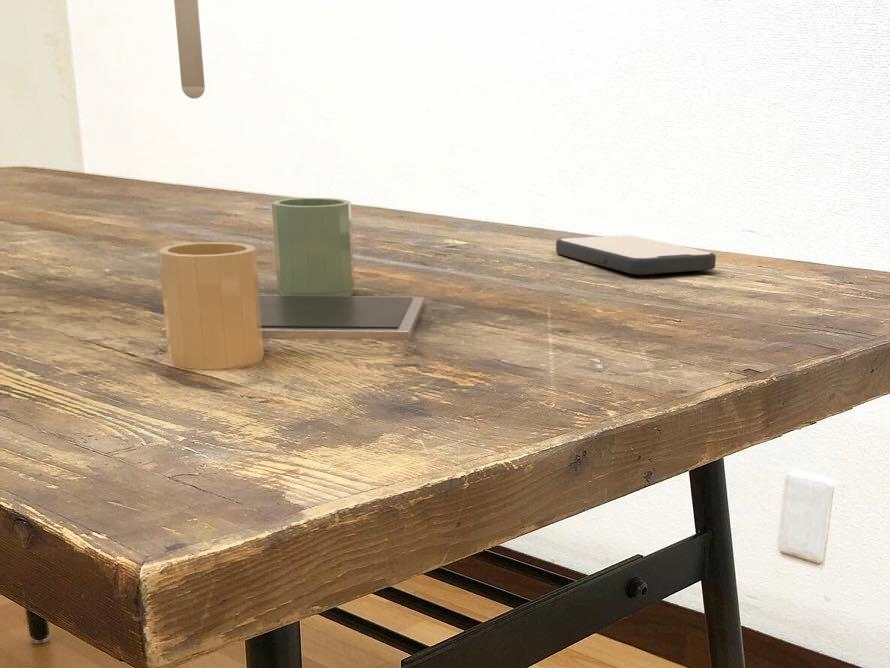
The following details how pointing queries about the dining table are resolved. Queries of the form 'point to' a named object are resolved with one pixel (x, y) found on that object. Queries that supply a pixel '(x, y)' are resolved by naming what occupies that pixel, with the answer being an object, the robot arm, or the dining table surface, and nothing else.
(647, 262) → the phone case
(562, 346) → the dining table surface
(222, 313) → the pen stand
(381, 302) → the tablet
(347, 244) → the pen cup
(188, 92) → the stylus
